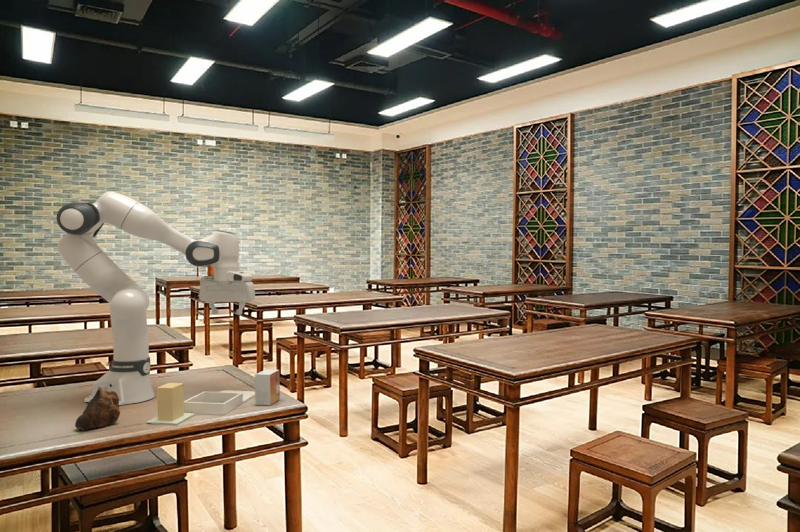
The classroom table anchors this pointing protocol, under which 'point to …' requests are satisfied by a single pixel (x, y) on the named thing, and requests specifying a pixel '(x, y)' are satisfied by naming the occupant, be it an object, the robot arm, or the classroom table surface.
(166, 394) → the block
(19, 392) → the classroom table surface
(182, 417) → the sage mat
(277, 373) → the small box
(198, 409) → the box
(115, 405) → the decorative rock
